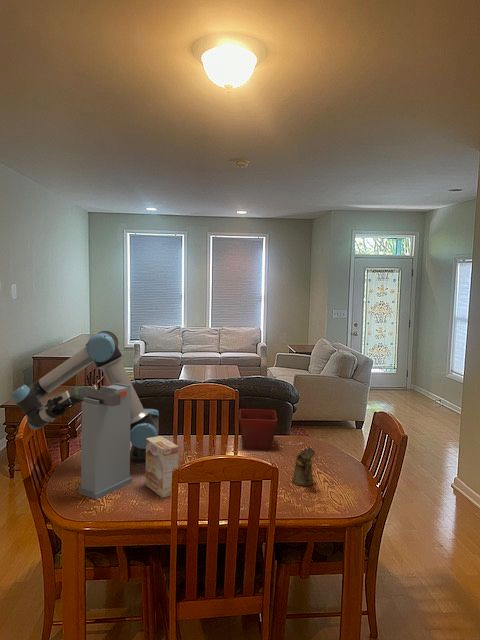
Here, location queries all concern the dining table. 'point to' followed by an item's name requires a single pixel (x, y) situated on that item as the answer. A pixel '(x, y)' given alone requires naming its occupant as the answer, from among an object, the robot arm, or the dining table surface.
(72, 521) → the dining table surface
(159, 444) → the coffeecake box
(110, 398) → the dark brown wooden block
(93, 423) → the stand
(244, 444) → the plant pot
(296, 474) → the dark green figurine
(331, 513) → the dining table surface
